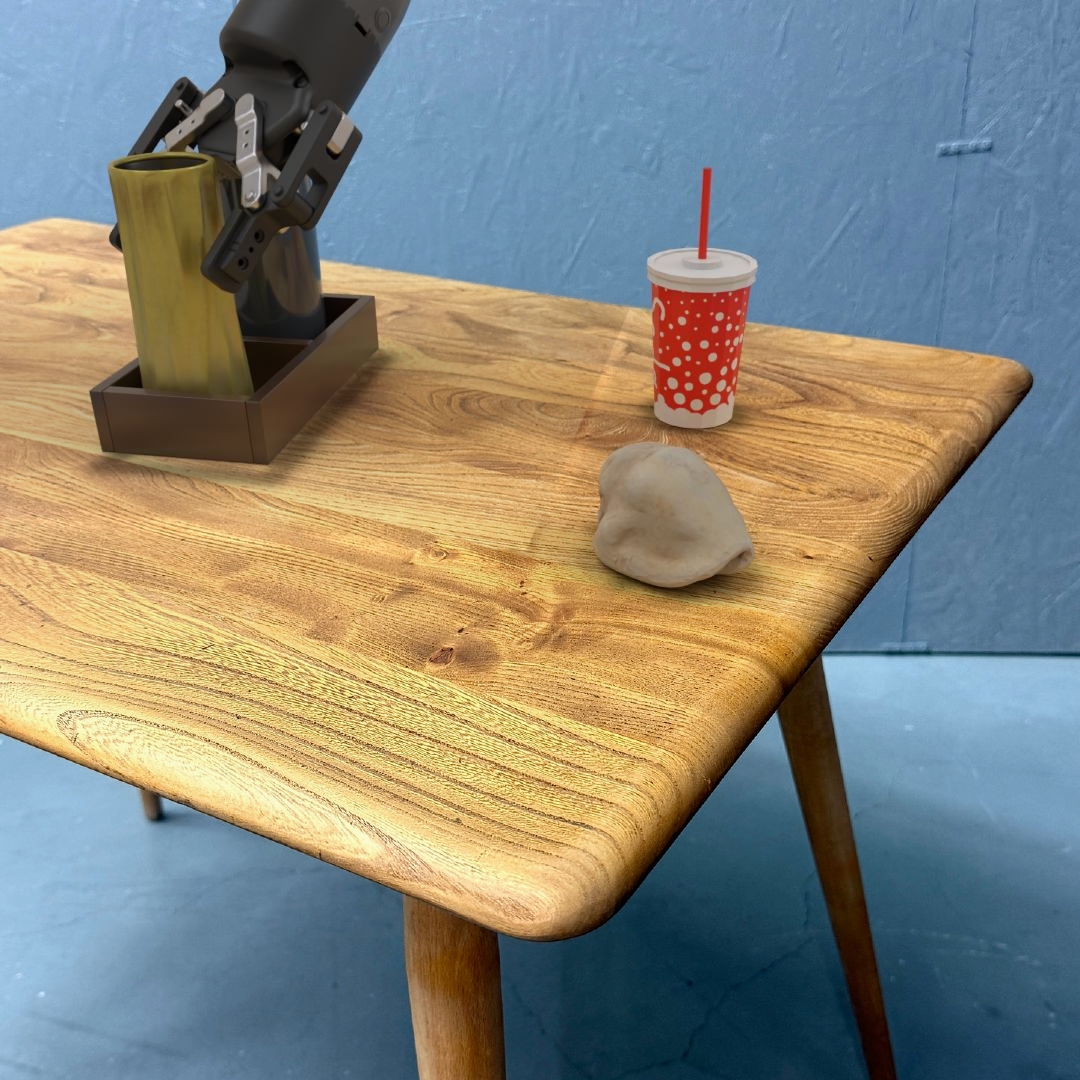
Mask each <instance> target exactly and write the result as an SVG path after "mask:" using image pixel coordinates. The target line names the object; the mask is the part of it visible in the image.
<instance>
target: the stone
mask: <svg viewBox="0 0 1080 1080" xmlns="http://www.w3.org/2000/svg"><path fill="white" fill-rule="evenodd" d="M597 479H598V480H597V484H598V486H597V491H598V495H599V507H598V512H597V522H598V526H597V528H596V531H595V533H594V534H593V537H592V549H593V551H594V554H595V555H596V557H597V558H598V560H599V561H600V562H601V563H603V565H605V566H606V567H608V568H610V569H612V570H614V571H615V572H617V573H619V574H623V575H625V576H627V577H629V578H631V579H635V580H638V581H640V582H642V583H646V584H649V585H652V586H656V587H662V588H669V589H670V588H682V587H686V586H688V585H689V586H690V585H692V584H694V583H696V582H699V581H704V580H706V579H708V578H712V577H713V576H715V575H729V576H730V575H734V574H735V575H736V574H738V573H740V572H742V571H743V570H745V569H746V568H748V567H749V566H750V565H751V564H752V562H753V561H754V559H755V555H756V549H755V546H754V543H753V540H752V537H751V535H750V533H749V531H748V528H747V524H746V522H745V519H744V516H743V515H742V513H741V511H740V510H739V509H738V507H737V506H736V504H735V502H734V500H733V498H732V496H731V494H730V492H729V490H728V488H727V486H726V485H725V483H724V482H723V481H722V479H721V478H720V477H719V475H717V473H716V472H715V471H714V470H713V469H712V467H711V466H710V465H709V464H708V463H707V462H706V461H705V460H704V459H703V457H701V455H699V454H697V453H696V452H695V451H694V450H692V449H690V448H687V447H683V446H674V445H669V444H666V443H663V442H659V441H651V440H650V441H640V442H634V443H630V444H626V445H625V446H622V447H620V448H618V449H615V450H614V451H613V452H612V453H611V454H609V455H608V456H607V458H605V460H604V461H603V464H602V465H601V468H600V471H599V475H598V478H597Z"/></svg>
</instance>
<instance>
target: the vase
mask: <svg viewBox="0 0 1080 1080" xmlns="http://www.w3.org/2000/svg"><path fill="white" fill-rule="evenodd" d="M107 172H108V178H109V179H108V180H109V185H110V190H111V195H112V199H113V200H112V201H113V205H114V210H115V215H116V223H117V222H118V227H119V233H120V239H121V245H122V251H123V253H122V256H123V263H124V270H125V276H126V284H127V290H128V297H129V302H130V307H131V314H132V315H131V316H132V322H133V330H134V336H135V344H136V352H137V357H138V359H139V366H140V372H141V378H142V385H143V389H157V390H171V391H186V392H200V393H215V394H229V395H243V396H252V395H253V394H254V389H253V384H252V380H251V375H250V370H249V366H248V361H247V356H246V351H245V347H244V343H243V338H242V334H241V329H240V325H239V320H238V316H237V312H236V305H235V297H234V294H232V293H229V292H226V291H223V290H221V289H220V288H218V287H217V286H216V285H214V284H213V283H212V282H211V281H209V280H208V279H207V278H205V277H204V276H203V275H202V273H201V270H200V266H201V263H202V261H203V260H204V258H205V256H206V255H207V253H208V251H209V250H210V248H211V246H212V245H213V243H214V241H215V240H216V238H217V236H218V235H219V233H220V231H221V230H222V228H223V226H224V225H225V221H224V213H223V206H222V199H221V192H220V184H219V175H218V169H217V165H216V161H215V159H214V158H213V157H211V156H209V155H206V154H202V153H199V152H196V153H194V152H159V151H158V152H152V153H146V154H139V155H133V156H127V155H126V156H124V157H120V158H117V159H114V160H111V161H110V162H109V163H108V165H107Z"/></svg>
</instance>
